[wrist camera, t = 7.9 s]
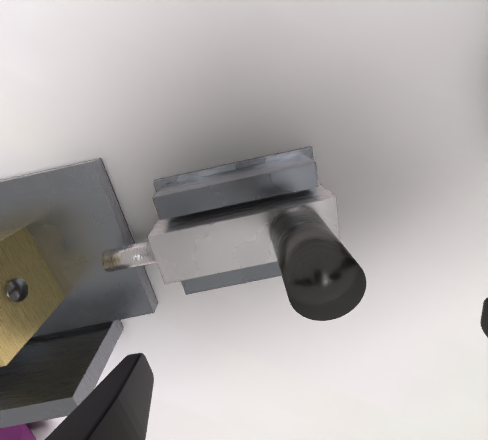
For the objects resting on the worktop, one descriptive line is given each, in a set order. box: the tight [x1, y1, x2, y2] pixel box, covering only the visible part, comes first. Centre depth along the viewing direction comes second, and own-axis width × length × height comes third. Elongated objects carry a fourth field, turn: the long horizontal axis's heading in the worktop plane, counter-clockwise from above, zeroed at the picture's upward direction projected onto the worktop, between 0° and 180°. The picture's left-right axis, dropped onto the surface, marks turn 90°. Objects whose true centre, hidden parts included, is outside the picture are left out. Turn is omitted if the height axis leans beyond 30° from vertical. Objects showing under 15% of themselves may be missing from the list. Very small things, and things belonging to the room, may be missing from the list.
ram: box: [101, 184, 366, 321], centre depth 13 cm, size 12×3×7 cm, turn 102°
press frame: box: [0, 147, 318, 428], centre depth 15 cm, size 24×12×6 cm, turn 102°
